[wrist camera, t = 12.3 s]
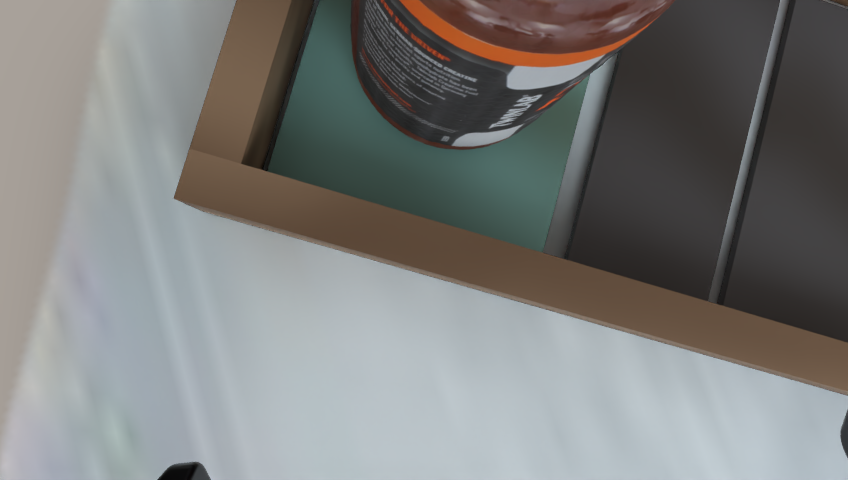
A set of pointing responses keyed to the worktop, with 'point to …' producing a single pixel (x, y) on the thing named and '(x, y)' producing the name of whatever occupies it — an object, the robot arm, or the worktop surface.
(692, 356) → the worktop surface
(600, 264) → the wooden serving tray
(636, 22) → the supplement bottle
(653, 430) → the worktop surface
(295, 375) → the worktop surface
